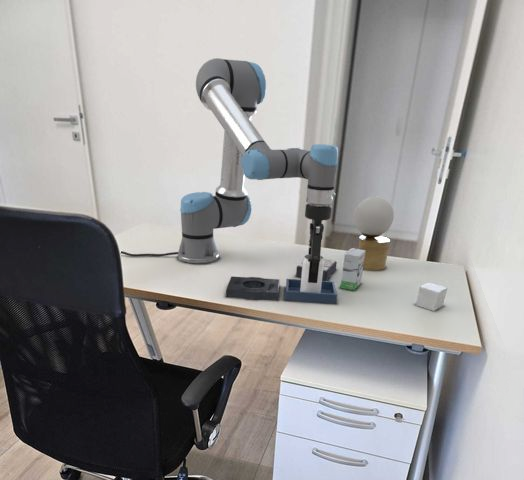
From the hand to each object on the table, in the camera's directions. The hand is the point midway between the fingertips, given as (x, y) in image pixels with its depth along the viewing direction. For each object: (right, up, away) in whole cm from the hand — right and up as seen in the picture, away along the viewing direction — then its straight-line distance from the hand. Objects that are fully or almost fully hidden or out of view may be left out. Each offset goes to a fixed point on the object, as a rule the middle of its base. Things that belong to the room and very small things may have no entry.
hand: (311, 274), depth 136 cm
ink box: (+14, -2, +12) cm, 19 cm away
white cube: (+36, -10, 0) cm, 38 cm away
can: (0, -6, +3) cm, 6 cm away
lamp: (+25, +10, +34) cm, 43 cm away
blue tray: (0, -6, +3) cm, 7 cm away
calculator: (+4, +4, +22) cm, 23 cm away
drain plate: (-18, -5, +4) cm, 19 cm away
